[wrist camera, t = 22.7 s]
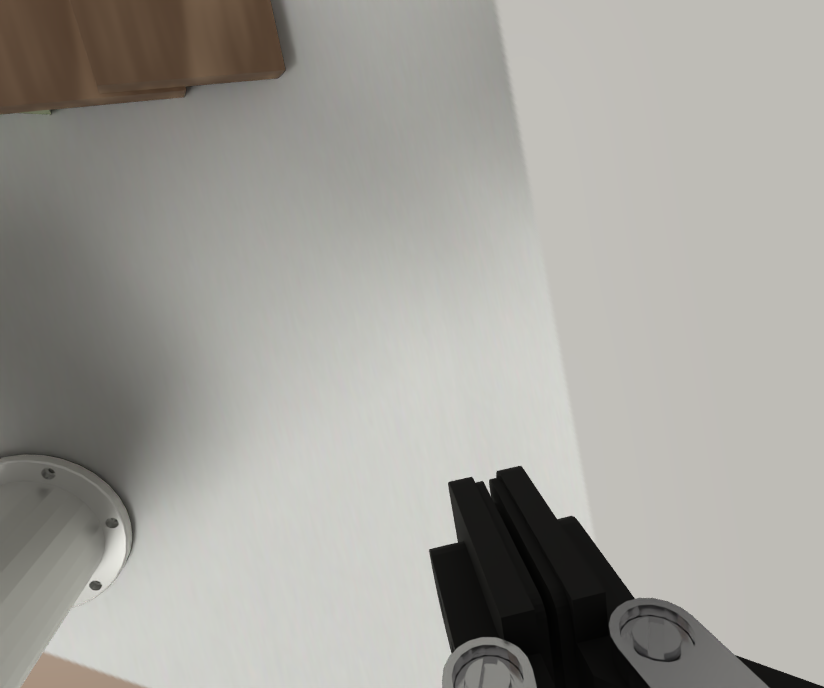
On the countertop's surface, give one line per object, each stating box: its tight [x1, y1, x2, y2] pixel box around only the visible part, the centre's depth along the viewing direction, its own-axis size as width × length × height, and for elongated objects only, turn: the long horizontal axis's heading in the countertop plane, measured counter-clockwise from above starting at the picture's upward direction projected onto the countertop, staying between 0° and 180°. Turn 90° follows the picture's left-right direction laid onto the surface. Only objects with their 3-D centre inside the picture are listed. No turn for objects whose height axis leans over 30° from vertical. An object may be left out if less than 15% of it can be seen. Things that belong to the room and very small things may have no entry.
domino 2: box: [70, 0, 285, 94], centre depth 29 cm, size 2×5×10 cm
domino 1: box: [0, 0, 186, 114], centre depth 29 cm, size 2×5×10 cm
